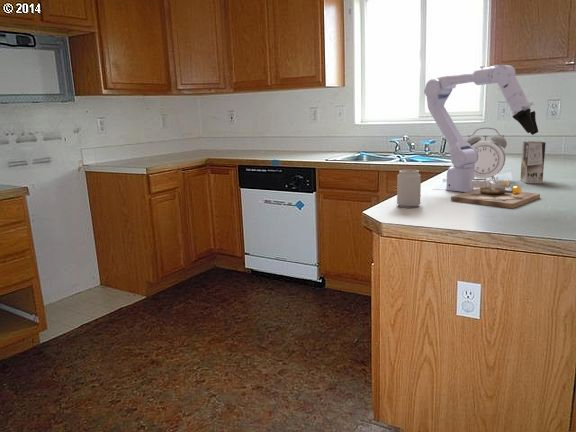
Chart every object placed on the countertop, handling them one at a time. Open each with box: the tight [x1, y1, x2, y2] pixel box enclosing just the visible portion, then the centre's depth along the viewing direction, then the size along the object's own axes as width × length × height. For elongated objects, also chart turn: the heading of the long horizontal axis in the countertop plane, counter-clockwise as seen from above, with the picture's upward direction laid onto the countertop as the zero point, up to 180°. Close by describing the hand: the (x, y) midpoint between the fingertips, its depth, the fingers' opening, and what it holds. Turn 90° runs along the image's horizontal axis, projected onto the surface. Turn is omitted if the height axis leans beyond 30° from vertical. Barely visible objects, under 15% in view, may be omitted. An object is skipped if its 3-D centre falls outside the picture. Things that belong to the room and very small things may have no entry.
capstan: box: [471, 177, 522, 195], centre depth 167 cm, size 15×15×4 cm
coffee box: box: [520, 140, 547, 184], centre depth 195 cm, size 9×6×16 cm
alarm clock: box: [465, 127, 508, 180], centre depth 203 cm, size 16×9×22 cm, turn 61°
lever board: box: [450, 188, 541, 209], centre depth 166 cm, size 21×21×2 cm
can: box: [396, 169, 422, 209], centre depth 160 cm, size 8×8×12 cm
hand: (533, 132), depth 161 cm, fingers open, 7 cm apart
